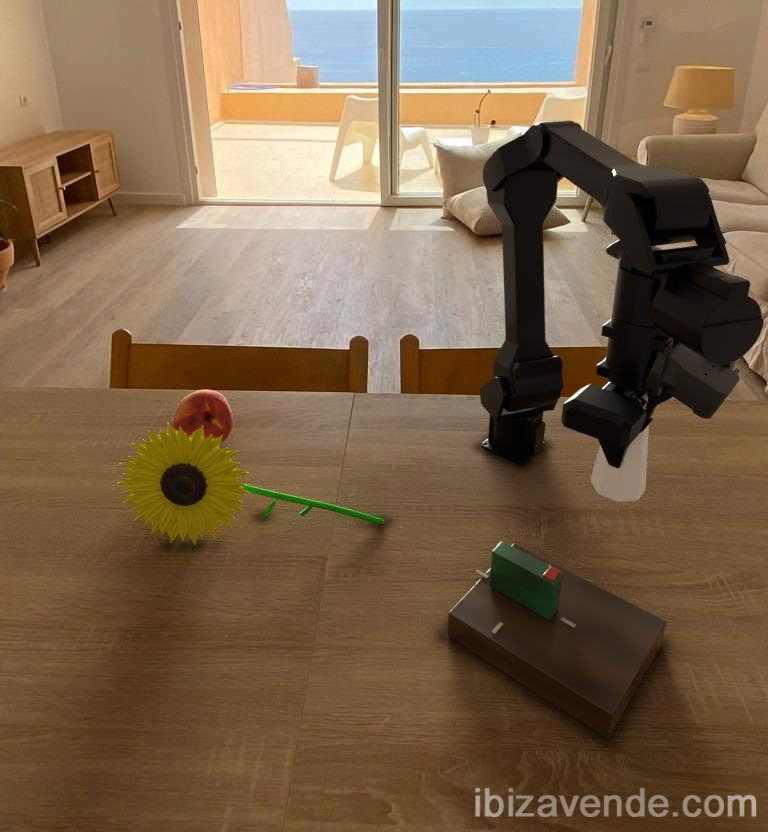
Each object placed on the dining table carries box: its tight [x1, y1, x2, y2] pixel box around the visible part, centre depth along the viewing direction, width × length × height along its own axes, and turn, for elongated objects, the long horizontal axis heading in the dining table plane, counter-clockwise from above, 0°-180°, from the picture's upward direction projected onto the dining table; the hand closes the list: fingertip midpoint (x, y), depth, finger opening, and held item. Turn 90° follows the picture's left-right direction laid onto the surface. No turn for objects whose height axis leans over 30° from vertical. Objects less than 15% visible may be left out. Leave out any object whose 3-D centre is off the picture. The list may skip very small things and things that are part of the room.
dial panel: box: [447, 542, 667, 740], centre depth 65 cm, size 12×17×3 cm
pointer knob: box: [490, 541, 563, 620], centre depth 65 cm, size 6×2×5 cm, turn 50°
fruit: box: [172, 389, 234, 444], centre depth 94 cm, size 8×8×8 cm
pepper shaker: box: [589, 395, 650, 503], centre depth 69 cm, size 5×5×11 cm
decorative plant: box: [117, 421, 385, 546], centre depth 78 cm, size 15×6×30 cm
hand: (622, 457), depth 70 cm, fingers closed on pepper shaker, 4 cm apart
